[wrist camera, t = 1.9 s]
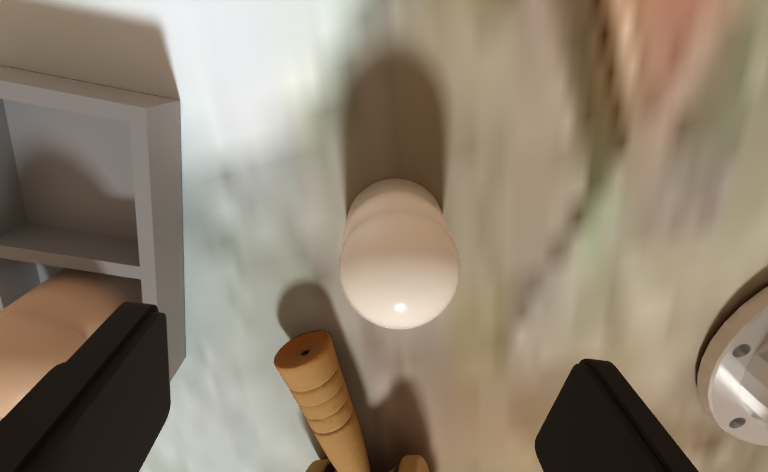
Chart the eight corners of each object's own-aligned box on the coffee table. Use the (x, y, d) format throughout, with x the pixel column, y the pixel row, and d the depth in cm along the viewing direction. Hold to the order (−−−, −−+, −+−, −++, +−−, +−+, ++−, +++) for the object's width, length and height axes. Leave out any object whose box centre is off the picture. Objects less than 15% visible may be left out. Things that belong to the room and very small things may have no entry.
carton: (179, 100, 16) (52, 129, 10) (185, 357, 21) (107, 480, 15) (-9, 63, 15) (-275, 70, 9) (48, 338, 20) (-92, 458, 14)
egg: (453, 188, 17) (489, 252, 12) (429, 273, 19) (451, 364, 13) (355, 170, 17) (343, 227, 11) (340, 258, 19) (324, 346, 13)
